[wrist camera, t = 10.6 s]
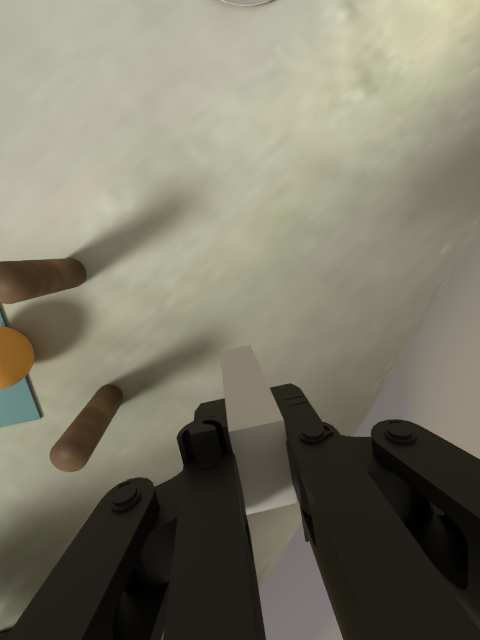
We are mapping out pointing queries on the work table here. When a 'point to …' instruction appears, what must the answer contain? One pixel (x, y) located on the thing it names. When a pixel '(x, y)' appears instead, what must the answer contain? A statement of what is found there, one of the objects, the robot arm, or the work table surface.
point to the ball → (14, 357)
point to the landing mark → (17, 401)
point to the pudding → (245, 2)
